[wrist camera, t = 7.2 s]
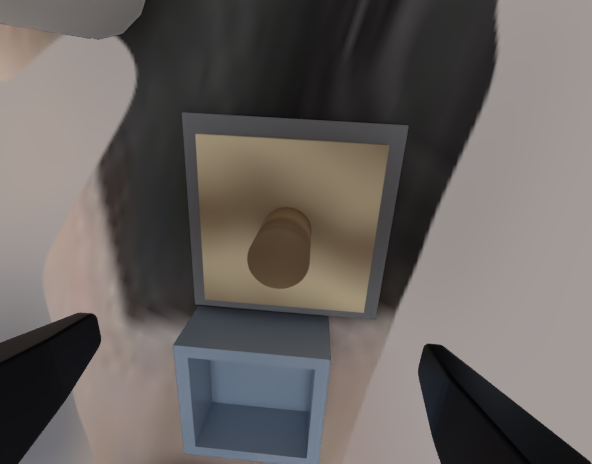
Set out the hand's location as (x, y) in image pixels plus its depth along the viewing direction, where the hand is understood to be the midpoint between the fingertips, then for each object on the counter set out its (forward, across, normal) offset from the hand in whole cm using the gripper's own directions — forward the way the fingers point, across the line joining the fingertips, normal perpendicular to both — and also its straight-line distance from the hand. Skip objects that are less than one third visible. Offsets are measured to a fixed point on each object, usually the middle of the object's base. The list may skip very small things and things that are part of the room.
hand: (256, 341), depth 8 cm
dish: (+11, +2, +11) cm, 16 cm away
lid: (+10, 0, 0) cm, 10 cm away
